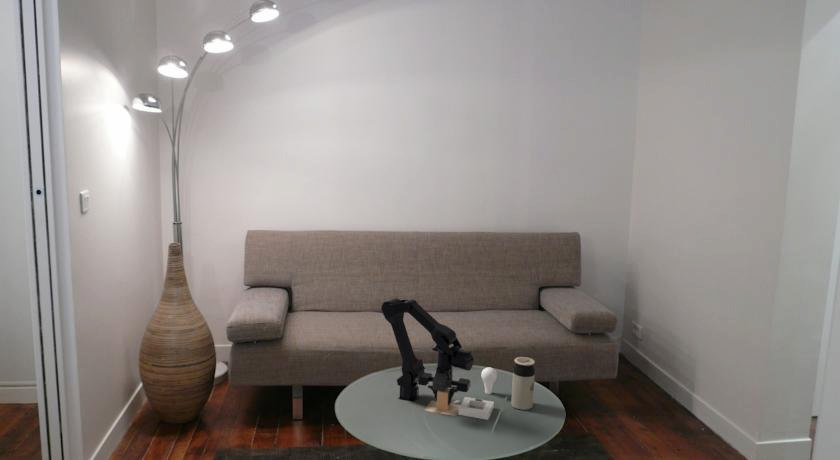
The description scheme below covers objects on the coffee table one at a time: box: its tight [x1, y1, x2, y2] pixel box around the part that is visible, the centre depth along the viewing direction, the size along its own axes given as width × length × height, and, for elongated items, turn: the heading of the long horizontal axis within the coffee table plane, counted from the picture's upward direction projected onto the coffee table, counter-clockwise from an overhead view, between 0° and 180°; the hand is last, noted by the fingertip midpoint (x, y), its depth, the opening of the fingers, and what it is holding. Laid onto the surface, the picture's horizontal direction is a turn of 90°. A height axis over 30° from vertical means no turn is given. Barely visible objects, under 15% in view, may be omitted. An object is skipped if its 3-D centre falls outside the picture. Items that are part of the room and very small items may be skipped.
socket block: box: [457, 396, 495, 421], centre depth 221 cm, size 11×10×4 cm
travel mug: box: [510, 356, 536, 411], centre depth 226 cm, size 8×8×18 cm
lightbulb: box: [480, 366, 498, 395], centre depth 236 cm, size 6×6×11 cm
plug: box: [437, 388, 451, 411], centre depth 222 cm, size 4×4×7 cm
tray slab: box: [423, 399, 461, 417], centre depth 223 cm, size 12×9×1 cm
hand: (443, 403), depth 222 cm, fingers closed on plug, 4 cm apart
